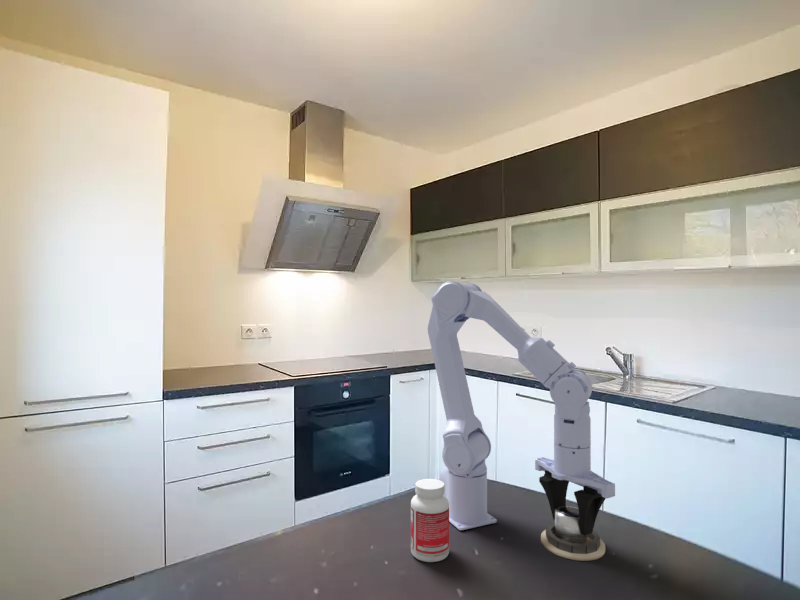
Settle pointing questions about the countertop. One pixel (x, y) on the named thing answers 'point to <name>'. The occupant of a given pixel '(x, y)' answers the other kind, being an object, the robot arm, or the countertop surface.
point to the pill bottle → (430, 521)
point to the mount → (573, 546)
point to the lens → (568, 525)
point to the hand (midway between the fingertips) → (572, 525)
